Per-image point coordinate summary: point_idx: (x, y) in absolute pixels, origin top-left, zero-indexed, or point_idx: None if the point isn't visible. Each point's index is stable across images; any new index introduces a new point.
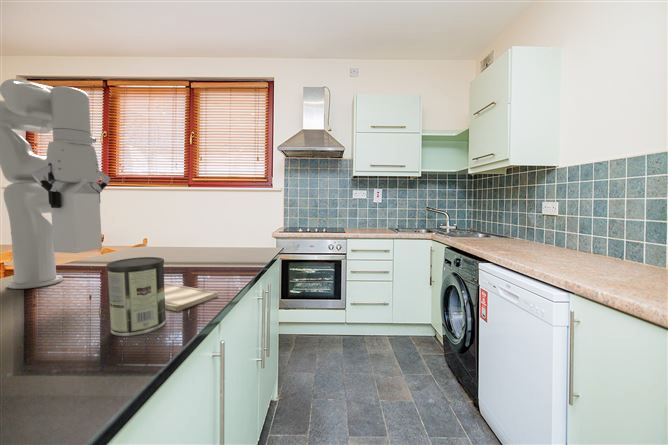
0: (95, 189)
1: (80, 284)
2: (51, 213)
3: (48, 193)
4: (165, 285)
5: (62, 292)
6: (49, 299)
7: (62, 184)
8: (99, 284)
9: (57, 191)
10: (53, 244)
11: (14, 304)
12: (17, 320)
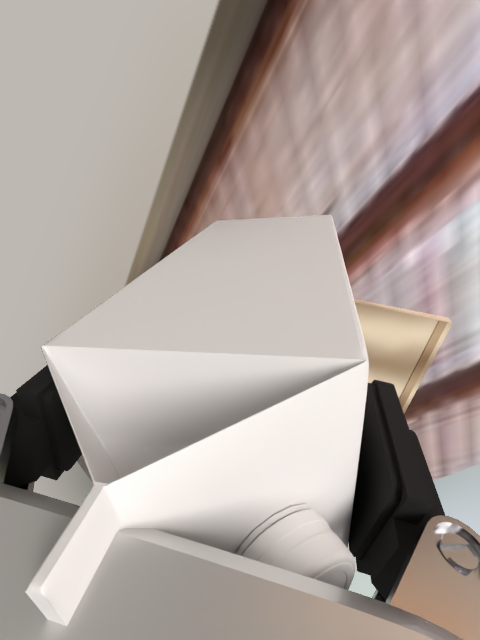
0: (376, 596)
1: (448, 14)
2: (143, 274)
3: (14, 396)
4: (411, 360)
5: (335, 83)
6: (269, 132)
7: (88, 463)
8: (453, 104)
9: (50, 462)
10: (207, 227)
11: (210, 83)
12: (159, 233)
